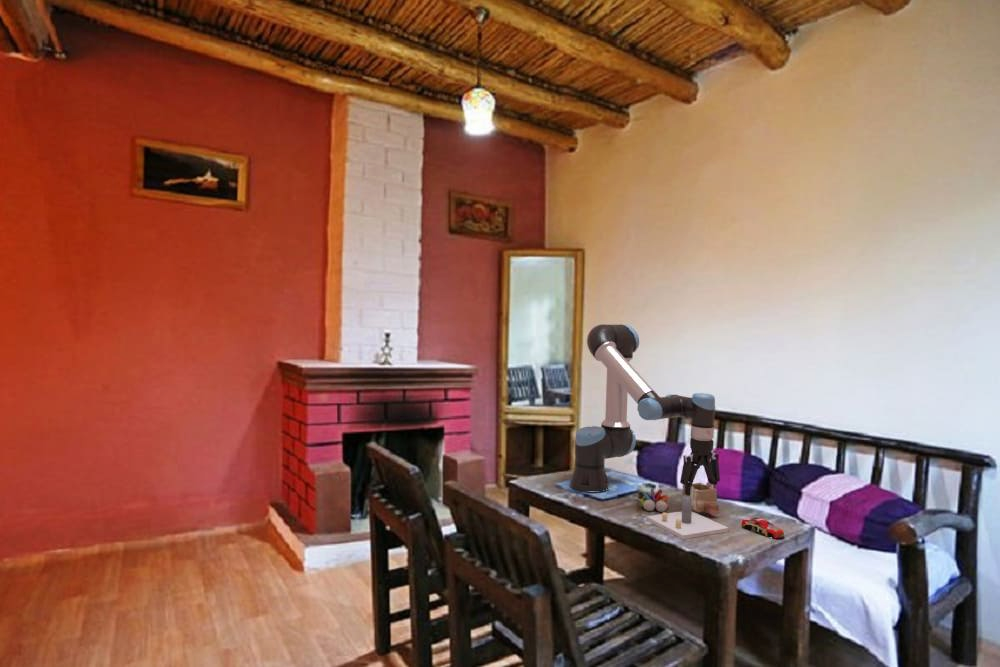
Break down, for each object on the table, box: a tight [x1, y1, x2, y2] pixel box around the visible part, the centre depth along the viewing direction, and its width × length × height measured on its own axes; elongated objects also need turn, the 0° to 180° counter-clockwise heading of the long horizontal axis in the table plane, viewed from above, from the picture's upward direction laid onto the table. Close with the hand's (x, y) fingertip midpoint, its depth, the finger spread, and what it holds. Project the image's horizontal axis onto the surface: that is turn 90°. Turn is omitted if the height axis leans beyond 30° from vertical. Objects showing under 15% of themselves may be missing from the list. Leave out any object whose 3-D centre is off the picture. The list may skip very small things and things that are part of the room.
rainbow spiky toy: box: [640, 487, 670, 513], centre depth 200 cm, size 8×10×7 cm
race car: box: [741, 517, 785, 539], centre depth 178 cm, size 13×5×4 cm, turn 30°
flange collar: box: [681, 482, 720, 516], centre depth 196 cm, size 12×8×7 cm
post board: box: [645, 496, 730, 540], centre depth 183 cm, size 18×18×9 cm
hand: (699, 503), depth 197 cm, fingers closed on flange collar, 8 cm apart
